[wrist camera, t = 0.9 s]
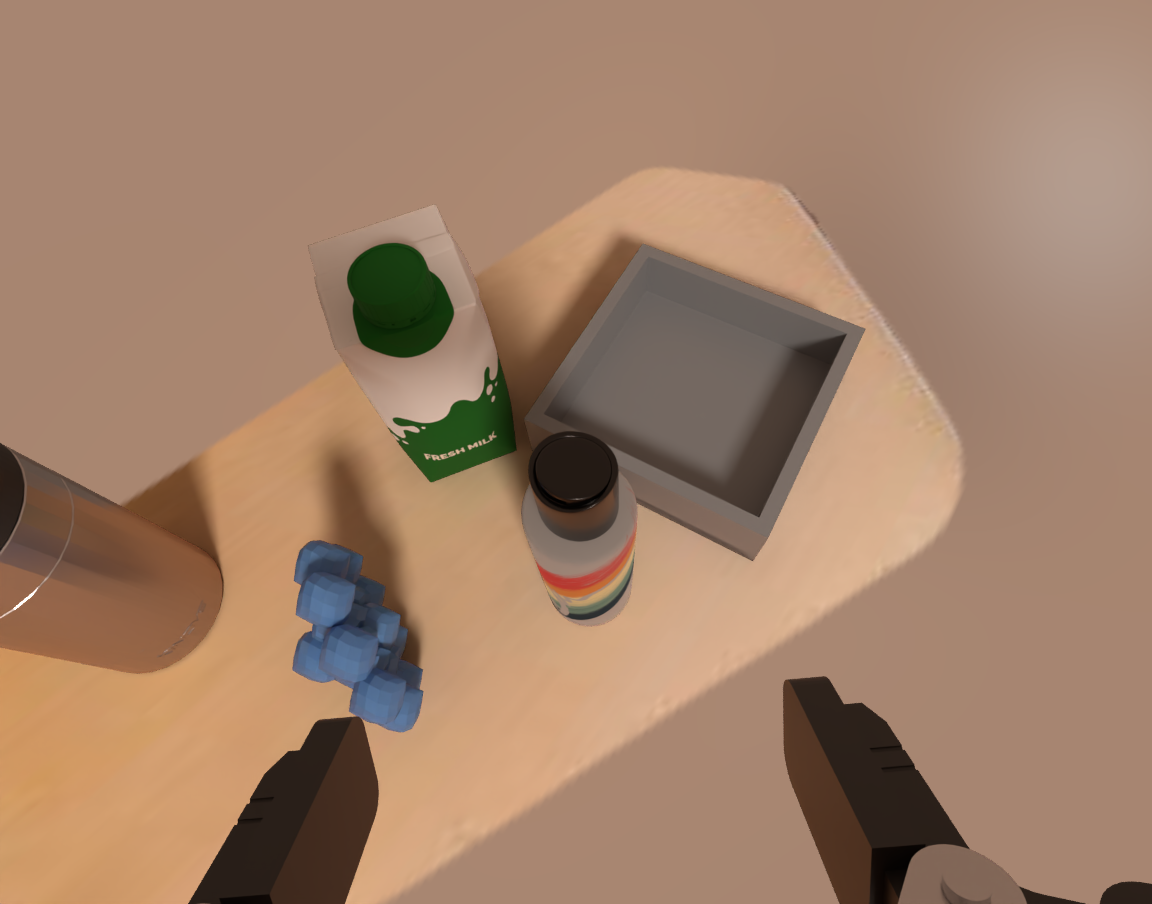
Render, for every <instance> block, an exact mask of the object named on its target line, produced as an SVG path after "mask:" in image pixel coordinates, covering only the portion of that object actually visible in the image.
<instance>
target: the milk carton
mask: <svg viewBox="0 0 1152 904" xmlns="http://www.w3.org/2000/svg"><path fill="white" fill-rule="evenodd" d="M308 249H309V253H310V256H311V260H312V264H313V267H314V271H315V275H316V276H315V284H316V288H317V292H318V296H319V299H320V303H321V306H322V309H323V312H324V315H325V318H326V321H327V325H328V328H329V331H330V335H331V338H332V342H333V345H334V347H335V349H336V350H337V351H338V353H339V354H340V356H341V358H342V359H343V361H344V363H345V364H346V366H347V367H348V369H349V370H350V372H351V374H352V375H353V377H354V378H355V380H356V381H357V383H358V384H359V386H360V387H361V389H362V390H363V392H364V393H365V395H366V396H367V398H368V399H369V401H370V402H371V404H372V405H373V407H374V408H375V409H376V411H377V412H378V414H379V415H380V417H381V418H382V420H383V421H384V423H385V424H386V426H387V427H388V429H389V430H390V432H391V433H392V435H393V436H394V437H395V439H396V440H397V442H398V443H399V445H400V446H401V447H402V448H403V450H404V451H405V452H406V453H407V455H408V456H409V457H410V458H411V459H412V461H413V462H414V463H415V464H416V465H417V467H418V468H419V469H420V470H421V471H422V472H423V474H424V475H425V476H426V477H427V479H428V480H429V481H430V482H434V481H436V480H439V479H442V478H444V477H447V476H450V475H452V474H455V473H458V472H460V471H463V470H466V469H468V468H471V467H474V466H476V465H479V464H482V463H484V462H487V461H490V460H492V459H495V458H497V457H500V456H503V455H505V454H508V453H511V452H513V451H516V450H517V449H516V441H515V433H514V424H513V416H512V408H511V402H510V398H509V393H508V389H507V385H506V381H505V378H504V374H503V371H502V367H501V364H500V360H499V357H498V353H497V350H496V346H495V343H494V339H493V336H492V333H491V329H490V326H489V322H488V319H487V316H486V313H485V310H484V308H483V305H482V302H481V300H480V297H479V288H478V286H477V283H476V280H475V278H474V275H473V273H472V270H471V268H470V266H469V264H468V262H467V260H466V258H465V256H464V254H463V253H462V251H461V249H460V248H459V246H458V245H457V243H456V242H455V240H454V239H453V237H452V236H451V235H450V233H449V231H448V229H447V226H446V224H445V222H444V220H443V218H442V216H441V214H440V212H439V210H438V208H437V206H436V205H435V204H434V205H431V206H428V207H424V208H421V209H418V210H415V211H412V212H409V213H406V214H403V215H400V216H397V217H394V218H391V219H387V220H384V221H381V222H378V223H375V224H372V225H369V226H366V227H363V228H360V229H357V230H354V231H351V232H347V233H344V234H341V235H339V236H335V237H332V238H329V239H326V240H323V241H320V242H317V243H314V244H311V245H308Z"/></svg>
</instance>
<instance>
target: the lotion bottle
mask: <svg viewBox="0 0 1152 904" xmlns="http://www.w3.org/2000/svg"><path fill="white" fill-rule="evenodd" d="M528 473H529V481H530V484H529V486H528V488H527V490H526V492H525V495H524V498H523V503H522V511H521V515H522V524H523V528H524V531H525V534H526V537H527V540H528V542H529V545H530V548H531V550H532V553H533V555H534V558H535V561H536V563H537V566H538V568H539V571H540V573H541V576H542V578H543V581H544V583H545V586H546V589H547V591H548V594H549V596H550V598H551V601H552V603H553V604H554V606H555V608H556V609H557V610H558V612H559V613H560V614H561V615H562V616H563V617H565V618H566V619H567V620H569V621H571V622H573V623H575V624H578V625H582V626H598V625H602V624H605V623H607V622H609V621H611V620H613V619H614V618H615V617H617V616H618V615H619V614H620V613H621V611H622V610H623V609H624V607H625V606H626V604H627V602H628V599H629V596H630V593H631V587H632V576H633V565H634V553H635V541H636V529H637V502H636V498H635V495H634V492H633V490H632V488H631V486H630V484H629V482H628V481H627V479H626V478H625V477H624V476H623V475H622V473H621V472H619V470H618V463H617V459H616V457H615V455H614V453H613V451H612V450H611V449H610V448H609V447H608V445H606V444H605V443H604V442H603V441H601V440H600V439H598V438H596V437H594V436H592V435H590V434H587V433H583V432H578V431H564V432H559V433H555V434H552V435H550V436H548V437H547V438H545V439H544V440H542V441H541V442H540V443H539V444H538V445H537V447H536V448H535V450H534V451H533V453H532V455H531V458H530V462H529V469H528Z"/></svg>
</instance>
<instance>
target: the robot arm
mask: <svg viewBox="0 0 1152 904" xmlns="http://www.w3.org/2000/svg"><path fill="white" fill-rule="evenodd" d="M222 586H223V583H222V579H221V574H220V571H219V569H218V567H217V565H216V563H215V561H214V560H213V559H212V558H211V556H210V555H209V554H208V553H207V552H205V551H203V550H202V549H200V548H199V547H197V546H195V545H193V544H191V543H189V542H188V541H186V540H184V539H182V538H180V537H178V536H176V535H174V534H172V533H171V532H169V531H167V530H165V529H163V528H161V527H160V526H158V525H156V524H154V523H152V522H150V521H148V520H146V519H144V518H142V517H141V516H139V515H137V514H135V513H133V512H131V511H129V510H127V509H125V508H123V507H122V506H120V505H118V504H116V503H114V502H112V501H110V500H108V499H106V498H104V497H102V496H100V495H99V494H97V493H95V492H93V491H91V490H89V489H87V488H85V487H83V486H81V485H80V484H78V483H76V482H74V481H72V480H70V479H68V478H66V477H64V476H62V475H61V474H59V473H57V472H55V471H53V470H50V469H49V468H47V467H45V466H43V465H41V464H39V463H37V462H35V461H33V460H31V459H29V458H28V457H26V456H24V455H22V454H20V453H18V452H16V451H14V450H12V449H10V448H9V447H7V446H5V445H2V444H1V443H0V648H5V649H10V650H15V651H20V652H26V653H31V654H36V655H41V656H46V657H51V658H56V659H61V660H66V661H72V662H77V663H81V664H86V665H91V666H96V667H101V668H107V669H112V670H117V671H122V672H129V673H147V672H153V671H157V670H160V669H163V668H166V667H168V666H170V665H172V664H173V663H175V662H177V661H179V660H181V659H182V658H183V657H185V656H186V655H187V654H188V653H190V652H191V651H192V650H193V649H194V648H195V647H196V646H197V645H198V644H199V643H200V642H201V641H202V640H203V639H204V637H205V636H206V634H207V633H208V631H209V630H210V628H211V627H212V625H213V623H214V621H215V619H216V617H217V614H218V612H219V609H220V604H221V600H222ZM783 709H784V710H783V713H784V714H783V718H784V719H783V720H784V754H785V761H786V766H787V770H788V774H789V778H790V781H791V784H792V786H793V789H794V791H795V794H796V796H797V799H798V801H799V804H800V806H801V809H802V811H803V814H804V816H805V819H806V821H807V824H808V826H809V829H810V831H811V834H812V836H813V838H814V841H815V844H816V846H817V848H818V851H819V854H820V856H821V859H822V861H823V864H824V866H825V868H826V871H827V874H828V876H829V878H830V881H831V883H832V886H833V888H834V891H835V893H836V896H837V898H838V901H839V903H840V904H1085V903H1080V902H1075V901H1071V900H1066V899H1061V898H1056V897H1052V896H1047V895H1042V894H1039V893H1035V892H1032V891H1030V890H1027V889H1024V888H1021V887H1019V886H1018V885H1017V883H1016V882H1015V881H1014V880H1013V879H1012V877H1011V876H1010V875H1009V874H1008V873H1007V872H1006V871H1005V870H1003V869H1002V868H1001V867H1000V866H999V865H997V864H996V863H995V862H993V861H992V860H990V859H988V858H987V857H985V856H983V855H981V854H979V853H977V852H975V851H973V850H970V849H969V847H968V846H967V845H966V843H965V842H964V840H963V838H962V837H961V836H960V834H959V832H958V831H957V829H956V828H955V826H954V825H953V823H952V822H951V820H950V819H949V817H948V815H947V814H946V812H945V811H944V809H943V808H942V806H941V805H940V803H939V802H938V800H937V799H936V797H935V796H934V794H933V793H932V791H931V789H930V788H929V786H928V785H927V783H926V782H925V780H924V779H923V778H922V776H921V774H920V773H919V771H918V770H916V769H915V766H914V763H913V762H912V760H911V759H910V757H909V756H908V754H907V753H906V751H905V750H903V749H902V745H901V744H900V742H899V740H898V739H897V737H896V736H895V735H894V733H893V732H892V730H891V728H890V727H889V725H888V724H887V722H886V721H885V720H883V719H882V718H881V717H879V716H878V715H877V714H875V713H874V712H873V711H872V710H870V709H869V708H868V707H866V706H865V705H864V704H863V703H854V704H843V702H842V700H841V699H840V697H839V695H838V694H837V692H836V690H835V688H834V687H833V685H832V683H831V682H830V680H829V679H828V678H827V677H824V676H823V677H812V678H800V679H790V680H785V682H784V686H783ZM378 795H379V790H378V780H377V775H376V771H375V767H374V763H373V759H372V755H371V751H370V747H369V743H368V739H367V735H366V731H365V727H364V723H363V721H362V719H361V718H360V717H358V716H356V717H345V718H334V719H322V720H318V721H317V722H316V723H315V724H314V726H313V727H312V729H311V731H310V733H309V735H308V736H307V738H306V740H305V742H304V744H303V746H302V747H301V749H300V750H298V751H288V752H287V753H286V754H285V755H284V756H283V757H282V758H281V759H280V760H279V761H278V762H277V763H276V764H275V765H274V766H272V767H271V768H270V769H269V770H268V771H267V772H266V773H265V774H264V776H263V778H262V779H261V781H260V783H259V784H258V786H257V788H256V790H255V791H254V793H253V795H252V796H251V798H250V803H249V804H247V805H246V807H245V808H244V810H243V812H242V813H241V815H240V817H239V818H238V824H237V825H234V827H233V829H232V830H231V832H230V834H229V835H228V837H227V839H226V841H225V842H224V844H223V846H222V847H221V849H220V851H219V852H218V854H217V856H216V857H215V859H214V861H213V863H212V864H211V866H210V868H209V869H208V871H207V873H206V874H205V876H204V878H203V880H202V881H201V883H200V885H199V886H198V888H197V890H196V891H195V893H194V895H193V897H192V898H191V900H190V902H189V903H188V904H345V902H346V899H347V896H348V893H349V890H350V887H351V885H352V882H353V879H354V876H355V873H356V870H357V867H358V865H359V862H360V859H361V856H362V853H363V850H364V847H365V845H366V842H367V839H368V836H369V833H370V830H371V828H372V825H373V822H374V819H375V816H376V812H377V806H378ZM1100 904H1152V884H1148V883H1142V882H1121V883H1118V884H1114V885H1112V886H1111V887H1109V888H1107V889H1106V891H1105V892H1104V893H1103V895H1102V898H1101V901H1100Z"/></svg>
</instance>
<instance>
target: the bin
mask: <svg viewBox="0 0 1152 904" xmlns="http://www.w3.org/2000/svg"><path fill="white" fill-rule="evenodd" d="M864 331H865V328H862V327H859V326H857V325H854V324H852V323H849V322H846V321H844V320H841V319H839V318H836V317H833V316H831V315H828V314H826V313H823V312H820V311H818V310H815V309H812V308H810V307H807V306H805V305H802V304H799V303H797V302H794V301H792V300H789V299H786V298H784V297H781V296H778V295H776V294H773V293H771V292H768V291H765V290H763V289H760V288H758V287H755V286H752V285H750V284H747V283H744V282H742V281H739V280H737V279H734V278H731V277H729V276H726V275H724V274H721V273H718V272H716V271H713V270H710V269H708V268H705V267H703V266H700V265H697V264H695V263H692V262H690V261H687V260H684V259H682V258H679V257H676V256H674V255H671V254H669V253H666V252H663V251H661V250H658V249H656V248H653V247H650V246H648V245H645V244H642V246H641V247H640V249H639V250H638V251H637V253H636V254H635V256H634V257H633V259H632V260H631V262H630V263H629V265H628V266H627V268H626V269H625V271H624V272H623V274H622V275H621V277H620V278H619V280H618V281H617V282H616V284H615V285H614V287H613V288H612V290H611V291H610V293H609V294H608V296H607V297H606V299H605V300H604V302H603V303H602V305H601V306H600V308H599V309H598V310H597V312H596V313H595V315H594V316H593V318H592V319H591V321H590V322H589V324H588V325H587V327H586V328H585V330H584V331H583V333H582V334H581V336H580V337H579V339H578V340H577V341H576V343H575V344H574V346H573V347H572V349H571V350H570V352H569V353H568V355H567V356H566V358H565V359H564V361H563V362H562V364H561V365H560V367H559V368H558V369H557V371H556V372H555V374H554V375H553V377H552V378H551V380H550V381H549V383H548V384H547V386H546V387H545V389H544V390H543V392H542V393H541V395H540V396H539V398H538V399H537V400H536V402H535V403H534V405H533V406H532V408H531V409H530V411H529V412H528V414H527V415H526V417H525V418H524V421H525V425H526V429H527V433H528V436H529V440H530V444H531V448H532V451H534V450H535V448H536V447H537V445H538V444H539V443H540V442H541V441H542V440H544V439H545V438H547V437H548V436H550V435H552V434H555V433H559V432H564V431H578V432H583V433H587V434H590V435H592V436H594V437H596V438H598V439H600V440H601V441H603V442H604V443H605V444H606V445H608V447H609V448H610V449H611V450H612V451H613V453H614V455H615V457H616V459H617V463H618V470H619V472H621V473H622V475H623V476H624V477H625V478H626V479H627V481H628V482H629V484H630V486H631V488H632V490H633V492H634V495H635V498H636V502H637V503H638V504H640V505H642V506H644V507H646V508H648V509H650V510H652V511H654V512H656V513H658V514H660V515H662V516H664V517H666V518H668V519H670V520H672V521H674V522H676V523H678V524H680V525H682V526H684V527H686V528H688V529H690V530H692V531H694V532H696V533H698V534H700V535H702V536H704V537H706V538H708V539H710V540H712V541H714V542H716V543H718V544H720V545H722V546H724V547H726V548H728V549H730V550H732V551H734V552H736V553H738V554H740V555H742V556H744V557H746V558H748V559H750V560H752V561H753V560H754V559H755V557H756V556H757V554H758V553H759V551H760V550H761V548H762V547H763V545H764V544H765V542H766V541H767V539H768V537H769V535H770V533H771V531H772V529H773V526H774V524H775V522H776V520H777V518H778V516H779V514H780V511H781V509H782V507H783V505H784V503H785V501H786V499H787V496H788V494H789V492H790V490H791V488H792V486H793V484H794V481H795V479H796V477H797V475H798V473H799V471H800V469H801V466H802V464H803V462H804V460H805V458H806V456H807V454H808V451H809V449H810V447H811V445H812V443H813V441H814V438H815V436H816V434H817V432H818V430H819V428H820V426H821V423H822V421H823V419H824V417H825V415H826V413H827V411H828V408H829V406H830V404H831V402H832V400H833V398H834V396H835V393H836V391H837V389H838V387H839V385H840V383H841V381H842V378H843V376H844V374H845V372H846V370H847V368H848V366H849V363H850V361H851V359H852V357H853V355H854V353H855V350H856V348H857V346H858V344H859V342H860V340H861V338H862V335H863V333H864Z"/></svg>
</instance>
